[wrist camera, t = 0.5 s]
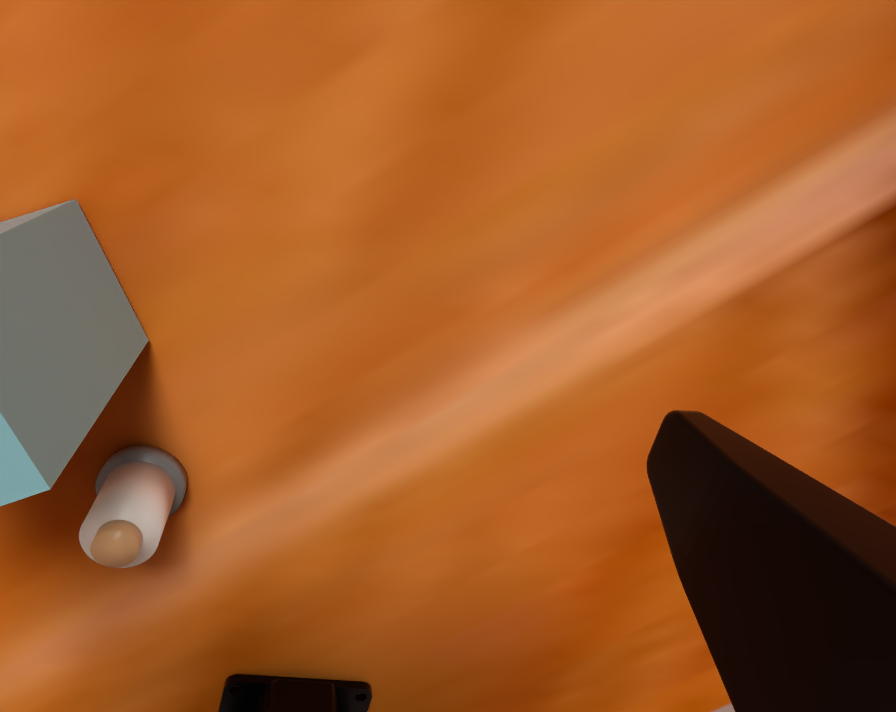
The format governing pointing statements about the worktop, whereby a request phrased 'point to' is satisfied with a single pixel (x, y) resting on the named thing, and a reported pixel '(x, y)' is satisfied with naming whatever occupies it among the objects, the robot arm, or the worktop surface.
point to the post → (132, 506)
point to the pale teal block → (56, 343)
